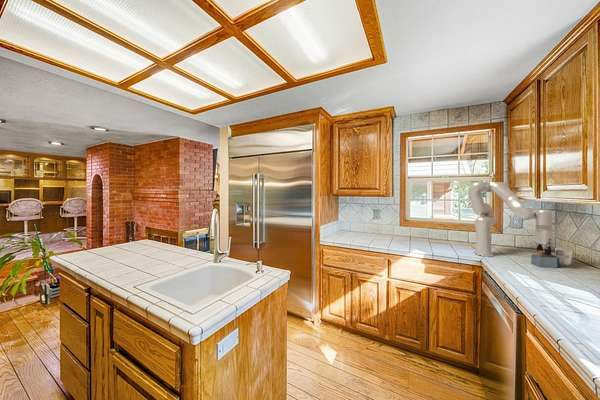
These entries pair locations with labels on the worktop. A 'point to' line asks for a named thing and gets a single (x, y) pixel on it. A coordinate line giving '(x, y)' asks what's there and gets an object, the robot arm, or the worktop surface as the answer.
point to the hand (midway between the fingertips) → (543, 253)
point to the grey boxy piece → (549, 260)
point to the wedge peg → (543, 254)
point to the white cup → (568, 252)
